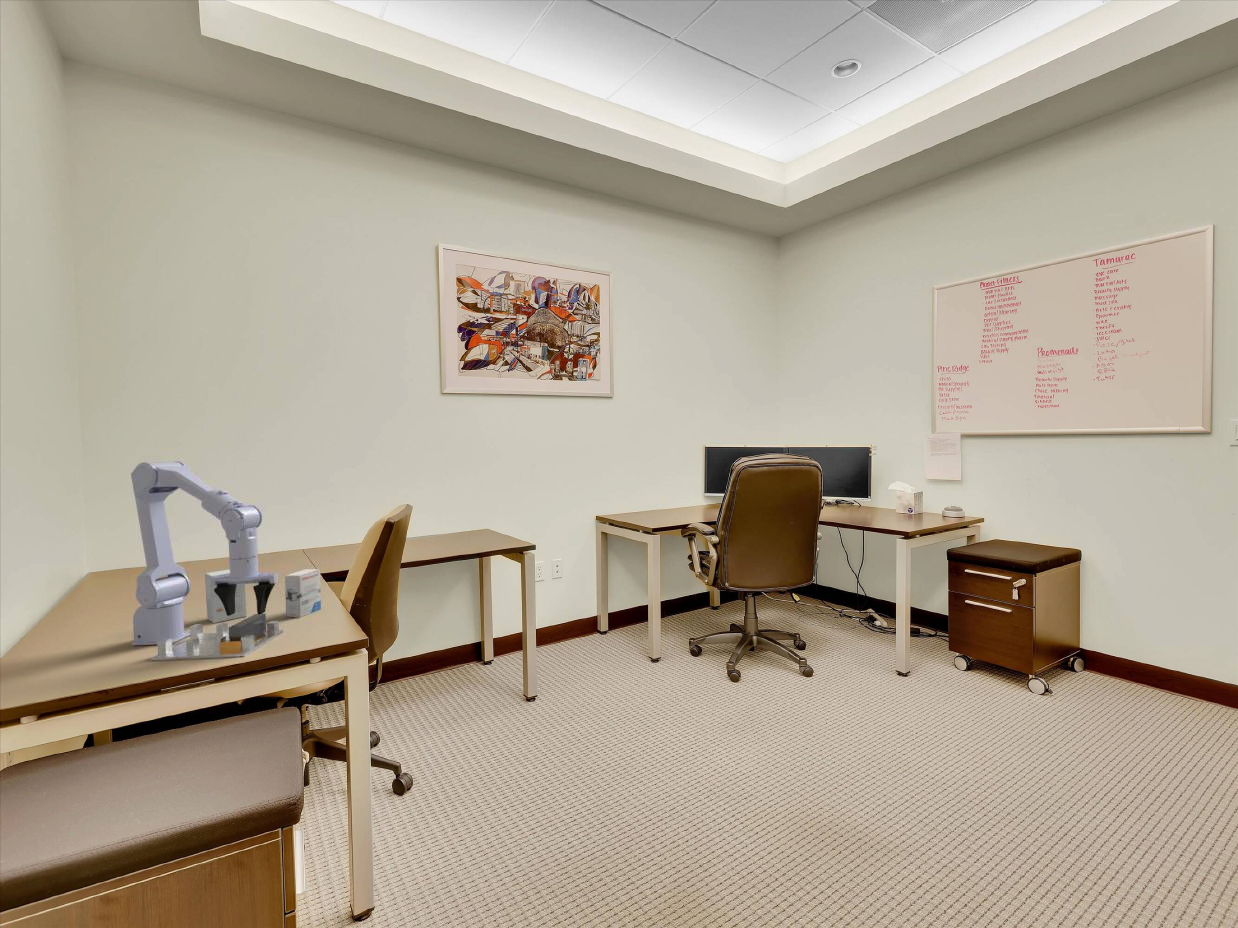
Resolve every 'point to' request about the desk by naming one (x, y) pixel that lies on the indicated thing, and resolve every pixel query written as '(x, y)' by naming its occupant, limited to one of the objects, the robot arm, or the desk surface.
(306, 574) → the ink box
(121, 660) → the desk surface
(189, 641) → the rack
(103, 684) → the desk surface
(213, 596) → the small box
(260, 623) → the panel
